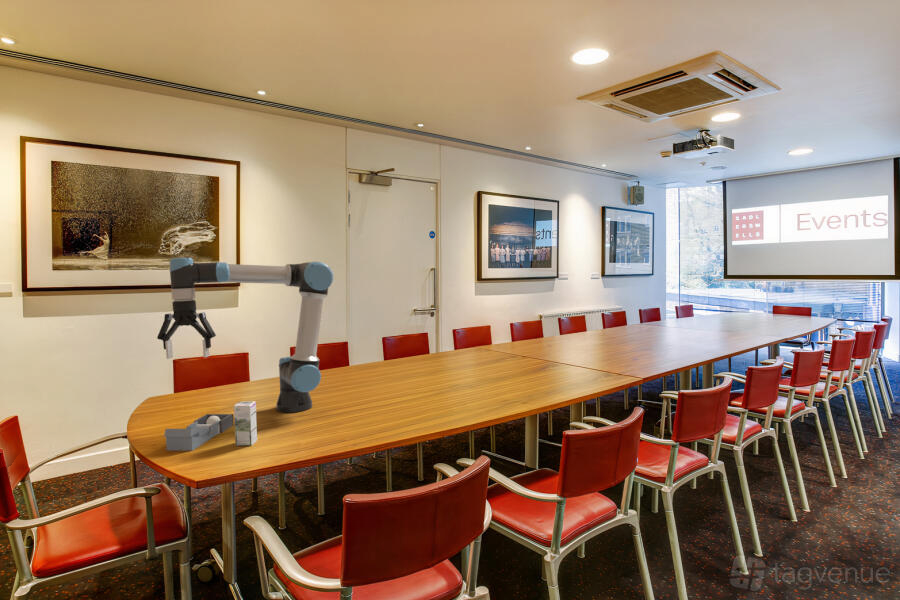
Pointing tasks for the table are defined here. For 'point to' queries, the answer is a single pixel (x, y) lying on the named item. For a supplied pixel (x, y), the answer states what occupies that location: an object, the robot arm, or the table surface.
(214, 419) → the pale rubber ball
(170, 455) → the table surface
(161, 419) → the table surface
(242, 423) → the syrup box
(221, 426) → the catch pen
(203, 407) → the table surface
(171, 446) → the launch ramp
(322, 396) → the table surface
